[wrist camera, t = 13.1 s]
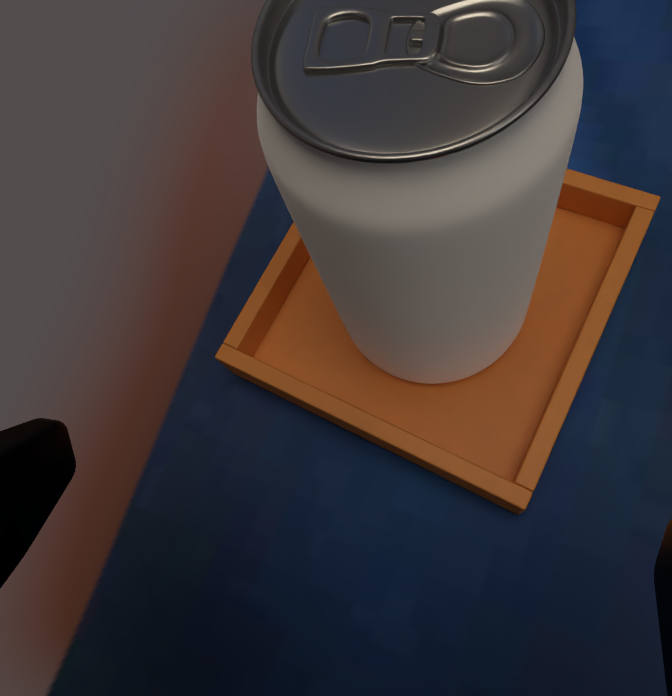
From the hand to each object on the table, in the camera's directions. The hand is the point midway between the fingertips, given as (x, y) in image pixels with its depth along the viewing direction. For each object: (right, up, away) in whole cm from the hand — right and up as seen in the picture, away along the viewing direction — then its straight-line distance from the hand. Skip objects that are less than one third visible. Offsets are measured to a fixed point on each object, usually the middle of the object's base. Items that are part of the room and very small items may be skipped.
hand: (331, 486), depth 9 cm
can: (+4, +4, +13) cm, 14 cm away
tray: (+4, +4, +13) cm, 14 cm away
